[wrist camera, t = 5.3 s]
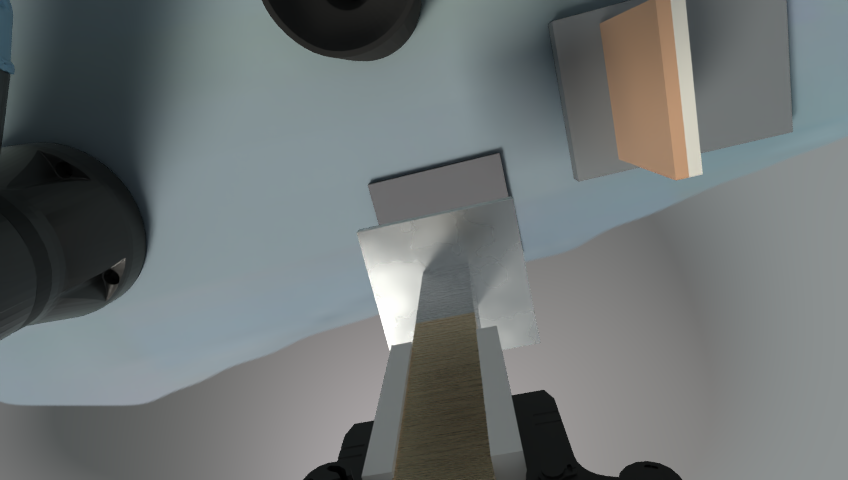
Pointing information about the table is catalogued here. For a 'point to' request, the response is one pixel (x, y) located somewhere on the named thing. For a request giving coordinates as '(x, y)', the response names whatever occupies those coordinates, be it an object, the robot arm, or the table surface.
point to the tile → (653, 88)
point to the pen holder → (347, 25)
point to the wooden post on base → (449, 326)
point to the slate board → (712, 75)
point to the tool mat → (439, 189)
